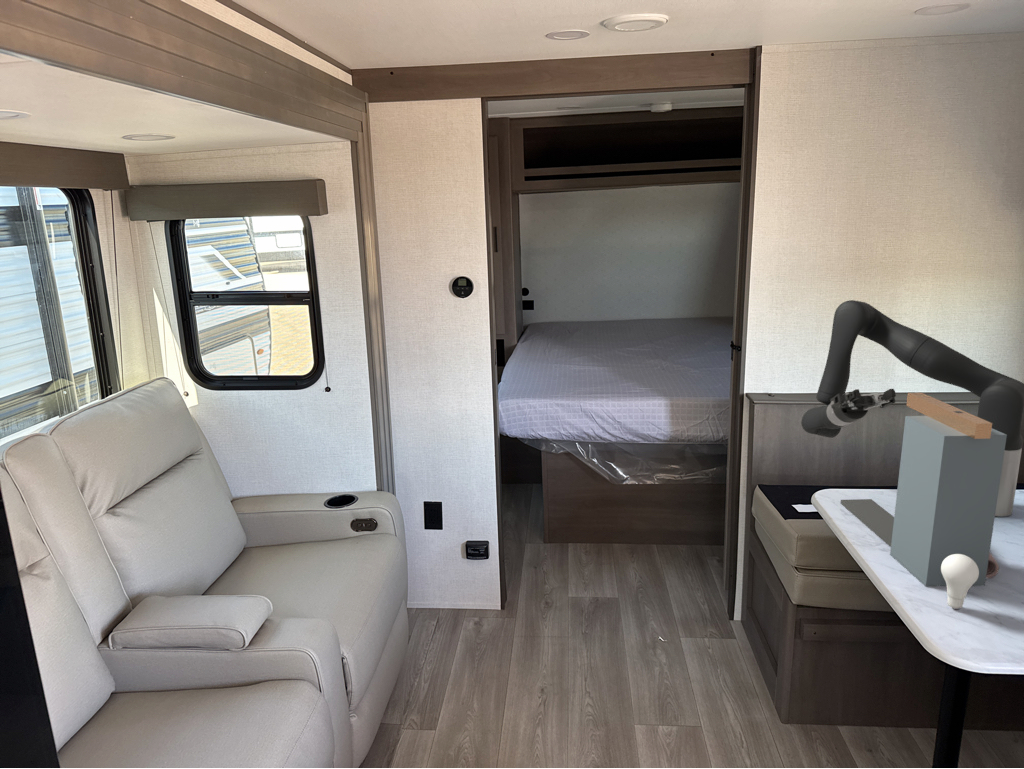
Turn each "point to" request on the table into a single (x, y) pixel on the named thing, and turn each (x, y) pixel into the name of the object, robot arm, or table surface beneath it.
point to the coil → (992, 567)
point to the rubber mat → (872, 517)
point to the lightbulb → (958, 577)
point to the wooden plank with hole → (950, 415)
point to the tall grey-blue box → (945, 498)
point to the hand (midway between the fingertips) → (875, 392)
